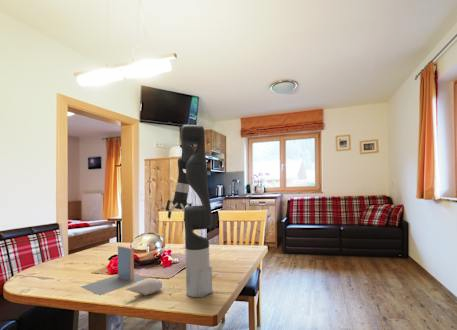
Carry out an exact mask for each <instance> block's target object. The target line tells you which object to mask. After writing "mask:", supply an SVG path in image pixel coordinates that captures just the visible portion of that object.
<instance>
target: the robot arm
mask: <svg viewBox="0 0 457 330" xmlns="http://www.w3.org/2000/svg"><path fill="white" fill-rule="evenodd" d="M205 136H206V133H205V128H204V126H202V125H199V124H184V125H182V127H181V131H180V141H181V142H180V144H181V156H180V157H179V158H178V159H177V170H178V172H177V173H178V175H177V176H178V177H177V182H176V185H175V189H174V190H175V191H174V196H173V200H170V199H168V200H167V203H166V206H165V211H167V212H168V213H167V218H168V220H170V219H171V217H172V211H173V210H174V209H176V210H183V222H184V223H183V224H184V235H185V236H184V237H185V239H184V240H185V248H184V249H185V287H186V289H185V292H186V295H187V296H188V297H191V298H204V297H206V296H207V295H209V294H211V293H213V271H212V270H213V267H211V265H210V241H209V239H208V238H207V237H204V236H200V235H198V234H196V233H195V232H194V231H195V230H198V231H199V230H207V229H210V228H212V226H213V212H212V207H211V201H210V199H211V198H210V194H209V192H210V191H209V179H208V178H209V177H208V166H207V157H206V142H205V141H206V140H205V139H206V138H205ZM193 145H197V147H196V149H195V148H194V146H193ZM184 170H185V171H184ZM190 187H191V189H193V191H194V192H195V194H196V195H197V197H198V198H199V200H200V202H201V205H193V203H191V202H189V203H188V197H189V192H190ZM171 204H172V205H173V206H172V207H171V208H170V205H171Z"/></svg>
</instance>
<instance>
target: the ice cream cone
mask: <svg viewBox="0 0 457 330" xmlns="http://www.w3.org/2000/svg"><path fill="white" fill-rule="evenodd" d="M162 288H163V282H162V281H161V279H158V278H157V279H156V278H155V279H154V278H152V277H151V278H149V277H147V278H146V279H144V280H141V281H138V282H135V283H133V284H131V285H129V287H126V288H125V289H124V290H125V291H129V292H133V293H136V294H140V295H143V296H148V295H151V294H154V293H158V292H160V290H162Z"/></svg>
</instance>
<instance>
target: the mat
mask: <svg viewBox="0 0 457 330" xmlns="http://www.w3.org/2000/svg"><path fill="white" fill-rule="evenodd" d="M146 278H148V277H147V276H144V275H140V274H138V273H137V274H136V273H134V280H133V281H128V280H125V279H122V278H119V277H118V274H115V275H114V276H110V277H106V278H104V279H101V280H97V281H94V282H92V283H88V284H85V285H82V286H80V288H83V289H84V290H87V291H90V292H91V293H93V294H96V295H98V296H102V295H104V294H108V293H111V292H114V291H116V290H119V289H122V288H125V287H127V286H131V285H134V284H136V283H138V282H140V281H142V280H144V279H146Z"/></svg>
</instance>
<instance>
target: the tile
mask: <svg viewBox="0 0 457 330" xmlns="http://www.w3.org/2000/svg"><path fill="white" fill-rule="evenodd" d="M134 249H135V248H134V247H130V246H126V245H121V244H120V245H118V246H117V275H118V277H119V278H122V279H125V280H128V281H133V280H134V274H135V258H134V257H135V255H134V254H135V251H134Z"/></svg>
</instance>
